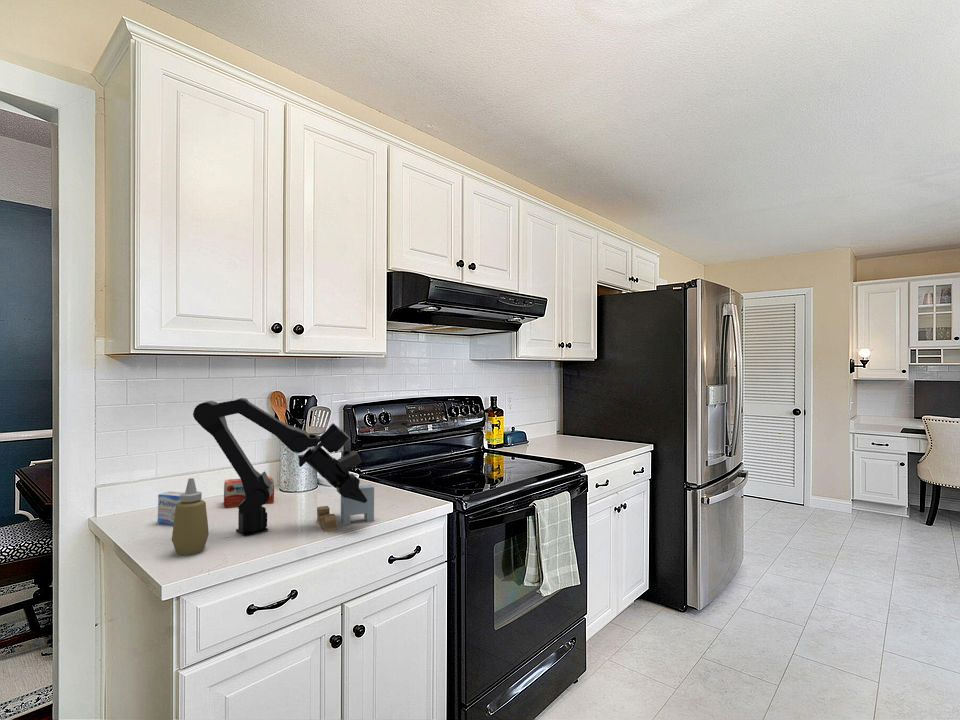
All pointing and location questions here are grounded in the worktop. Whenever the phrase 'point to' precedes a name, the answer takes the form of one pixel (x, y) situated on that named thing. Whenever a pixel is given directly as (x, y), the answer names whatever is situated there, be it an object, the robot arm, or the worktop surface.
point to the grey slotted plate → (358, 506)
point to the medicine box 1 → (167, 507)
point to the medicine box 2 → (239, 492)
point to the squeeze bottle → (190, 522)
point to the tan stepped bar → (326, 519)
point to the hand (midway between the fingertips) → (362, 498)
